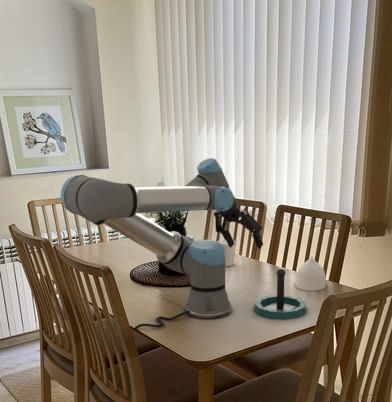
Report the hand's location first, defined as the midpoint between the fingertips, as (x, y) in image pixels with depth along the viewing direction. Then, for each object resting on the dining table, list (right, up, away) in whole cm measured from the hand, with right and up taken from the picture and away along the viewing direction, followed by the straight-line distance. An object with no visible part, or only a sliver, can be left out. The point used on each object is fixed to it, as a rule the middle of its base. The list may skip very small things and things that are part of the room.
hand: (246, 245), depth 205 cm
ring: (+9, -24, -21) cm, 33 cm away
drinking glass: (-6, -5, +32) cm, 33 cm away
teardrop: (+24, -15, +1) cm, 29 cm away
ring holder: (+9, -24, -21) cm, 33 cm away
